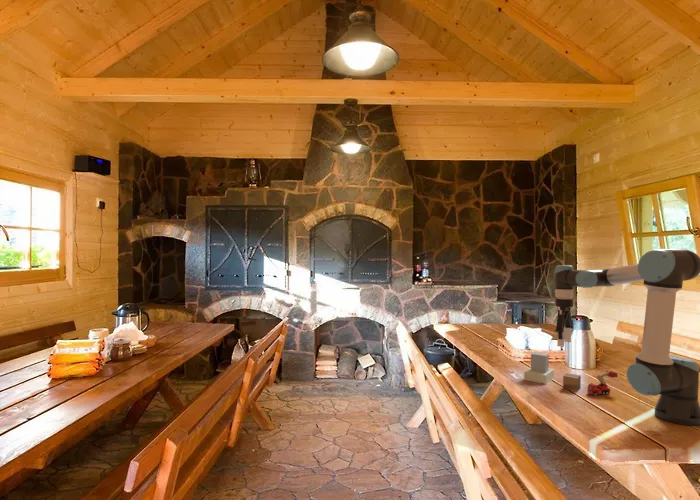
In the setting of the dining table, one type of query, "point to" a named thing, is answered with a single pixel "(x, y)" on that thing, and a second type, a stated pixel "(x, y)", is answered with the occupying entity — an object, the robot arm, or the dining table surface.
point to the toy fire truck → (601, 384)
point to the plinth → (539, 376)
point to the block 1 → (539, 362)
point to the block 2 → (571, 382)
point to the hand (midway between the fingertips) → (564, 344)
